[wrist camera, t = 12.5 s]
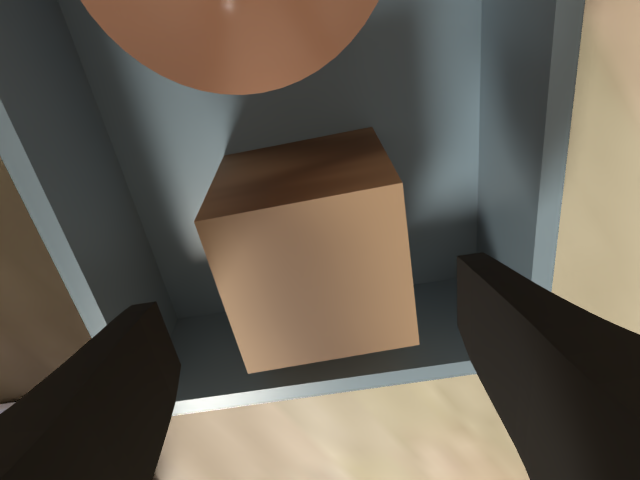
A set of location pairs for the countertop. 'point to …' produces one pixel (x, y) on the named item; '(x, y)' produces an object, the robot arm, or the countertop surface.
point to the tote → (280, 128)
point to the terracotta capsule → (232, 38)
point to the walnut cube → (311, 250)
